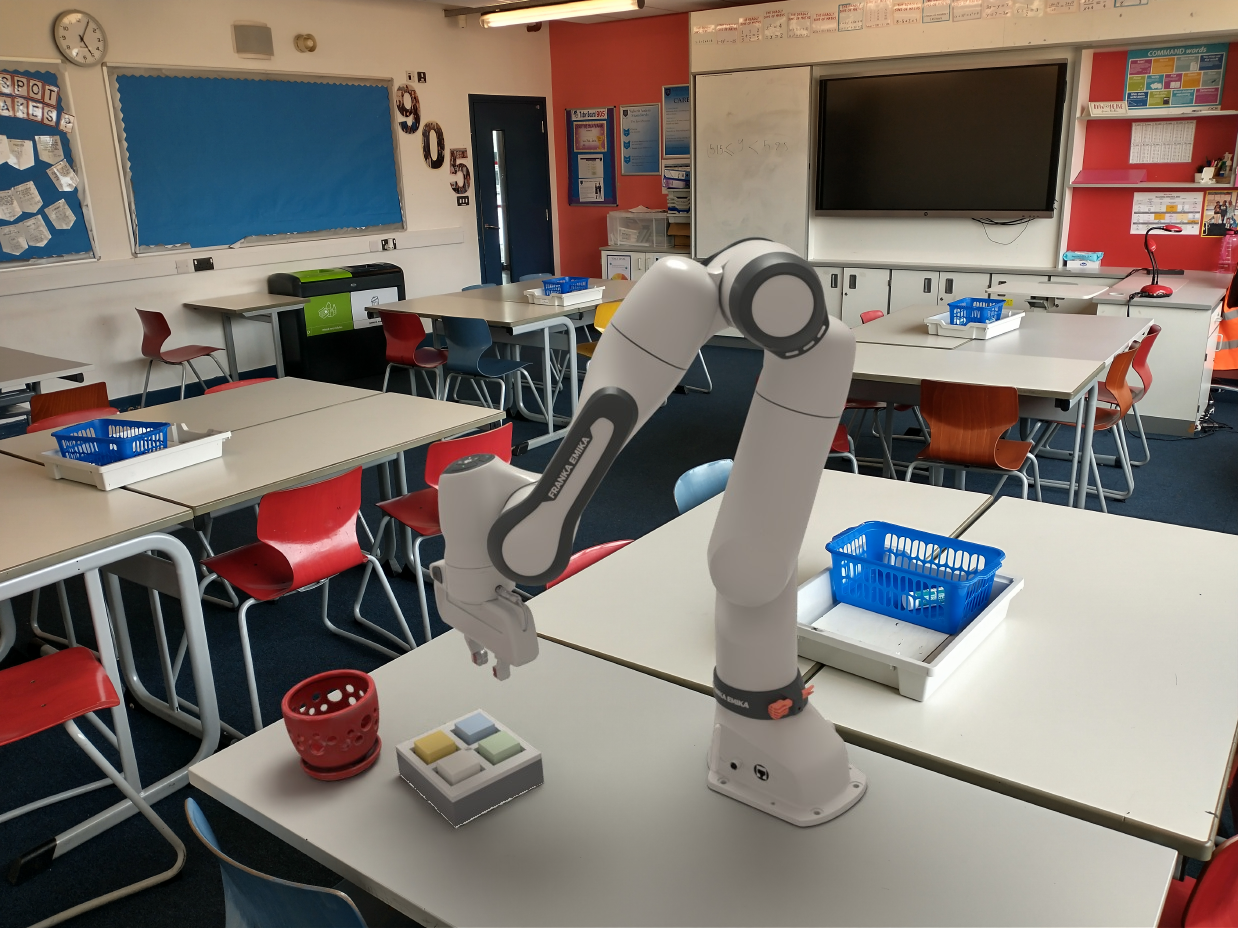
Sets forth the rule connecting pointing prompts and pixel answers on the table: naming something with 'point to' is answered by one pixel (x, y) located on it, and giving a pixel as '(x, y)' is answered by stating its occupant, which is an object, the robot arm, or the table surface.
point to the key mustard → (434, 747)
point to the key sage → (498, 747)
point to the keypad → (479, 788)
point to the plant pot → (334, 724)
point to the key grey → (457, 767)
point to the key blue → (474, 729)
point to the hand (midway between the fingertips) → (491, 670)
